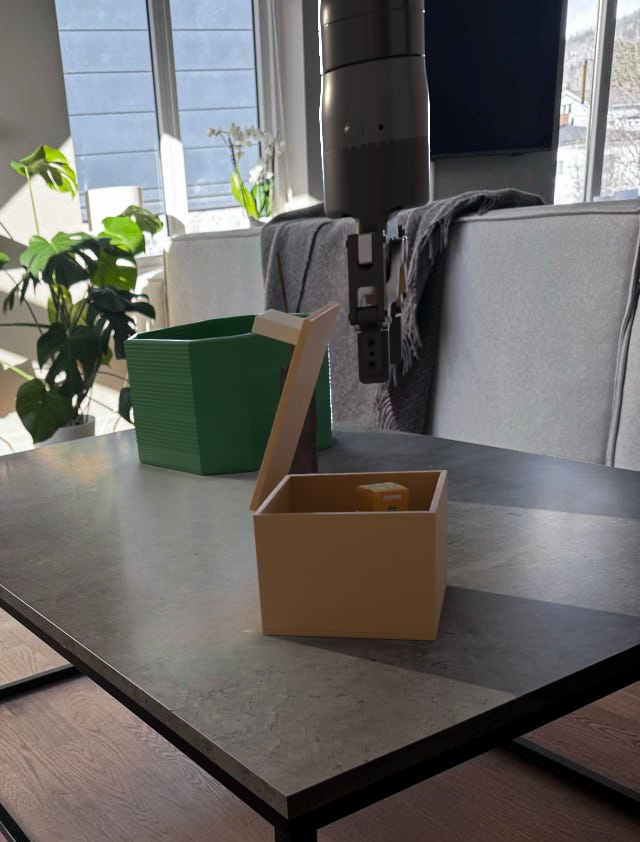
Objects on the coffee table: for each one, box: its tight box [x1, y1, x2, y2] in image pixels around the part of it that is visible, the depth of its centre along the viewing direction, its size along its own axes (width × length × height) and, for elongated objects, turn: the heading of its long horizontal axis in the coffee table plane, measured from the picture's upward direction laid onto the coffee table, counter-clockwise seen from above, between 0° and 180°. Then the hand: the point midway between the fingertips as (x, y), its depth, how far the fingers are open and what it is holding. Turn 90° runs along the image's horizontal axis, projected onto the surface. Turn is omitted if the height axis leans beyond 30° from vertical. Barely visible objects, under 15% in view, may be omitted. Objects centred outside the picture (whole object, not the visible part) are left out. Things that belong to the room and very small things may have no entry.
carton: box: [252, 469, 448, 641], centre depth 77 cm, size 14×12×10 cm
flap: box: [248, 300, 341, 513], centre depth 74 cm, size 15×12×5 cm
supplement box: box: [356, 482, 409, 512], centre depth 77 cm, size 3×3×10 cm
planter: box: [123, 312, 334, 476], centre depth 137 cm, size 26×26×18 cm
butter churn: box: [275, 251, 319, 475], centre depth 114 cm, size 9×10×28 cm
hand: (381, 372), depth 72 cm, fingers open, 8 cm apart
